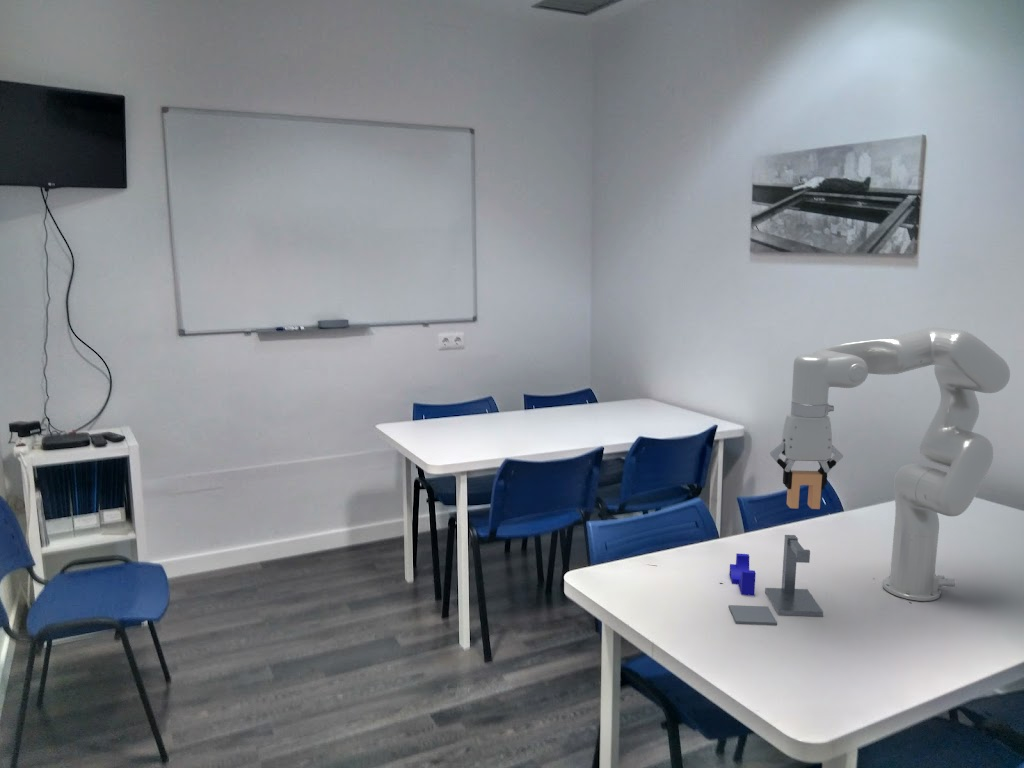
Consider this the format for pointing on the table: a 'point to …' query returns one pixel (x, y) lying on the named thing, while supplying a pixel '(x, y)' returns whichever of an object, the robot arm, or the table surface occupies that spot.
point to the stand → (793, 584)
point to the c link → (813, 493)
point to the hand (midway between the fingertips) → (804, 487)
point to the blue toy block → (743, 575)
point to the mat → (752, 615)
